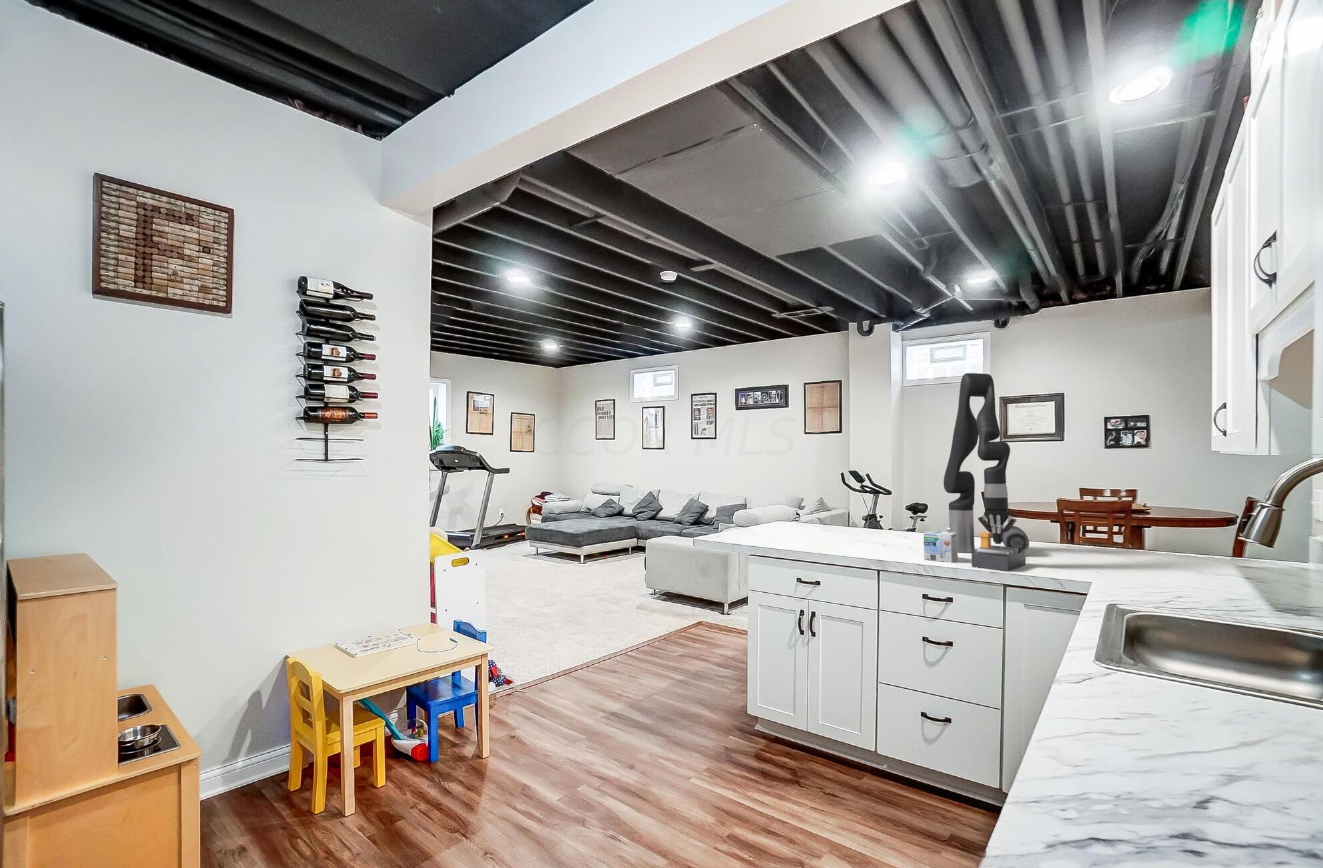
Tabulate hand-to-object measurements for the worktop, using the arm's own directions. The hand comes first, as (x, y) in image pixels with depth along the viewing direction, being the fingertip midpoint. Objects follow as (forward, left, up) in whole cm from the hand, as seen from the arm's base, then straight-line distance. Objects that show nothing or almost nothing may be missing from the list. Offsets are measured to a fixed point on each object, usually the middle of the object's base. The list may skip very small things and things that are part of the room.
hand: (998, 543), depth 222 cm
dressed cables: (0, 0, -3) cm, 3 cm away
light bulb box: (-20, -3, -8) cm, 22 cm away
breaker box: (0, 0, -8) cm, 8 cm away
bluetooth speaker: (-7, +35, -8) cm, 37 cm away
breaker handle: (-4, 0, -3) cm, 5 cm away
